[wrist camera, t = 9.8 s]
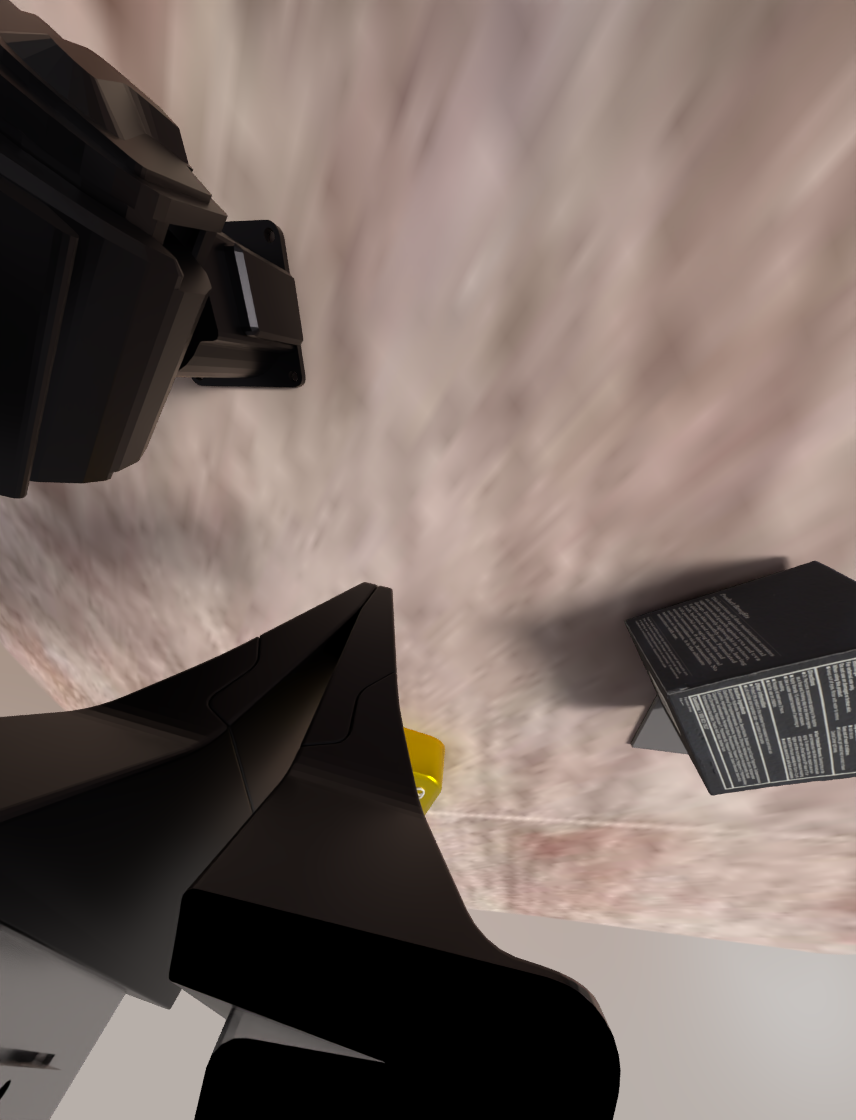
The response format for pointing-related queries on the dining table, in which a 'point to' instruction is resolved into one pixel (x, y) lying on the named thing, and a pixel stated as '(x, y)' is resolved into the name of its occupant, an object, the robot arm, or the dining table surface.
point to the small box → (760, 678)
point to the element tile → (426, 765)
